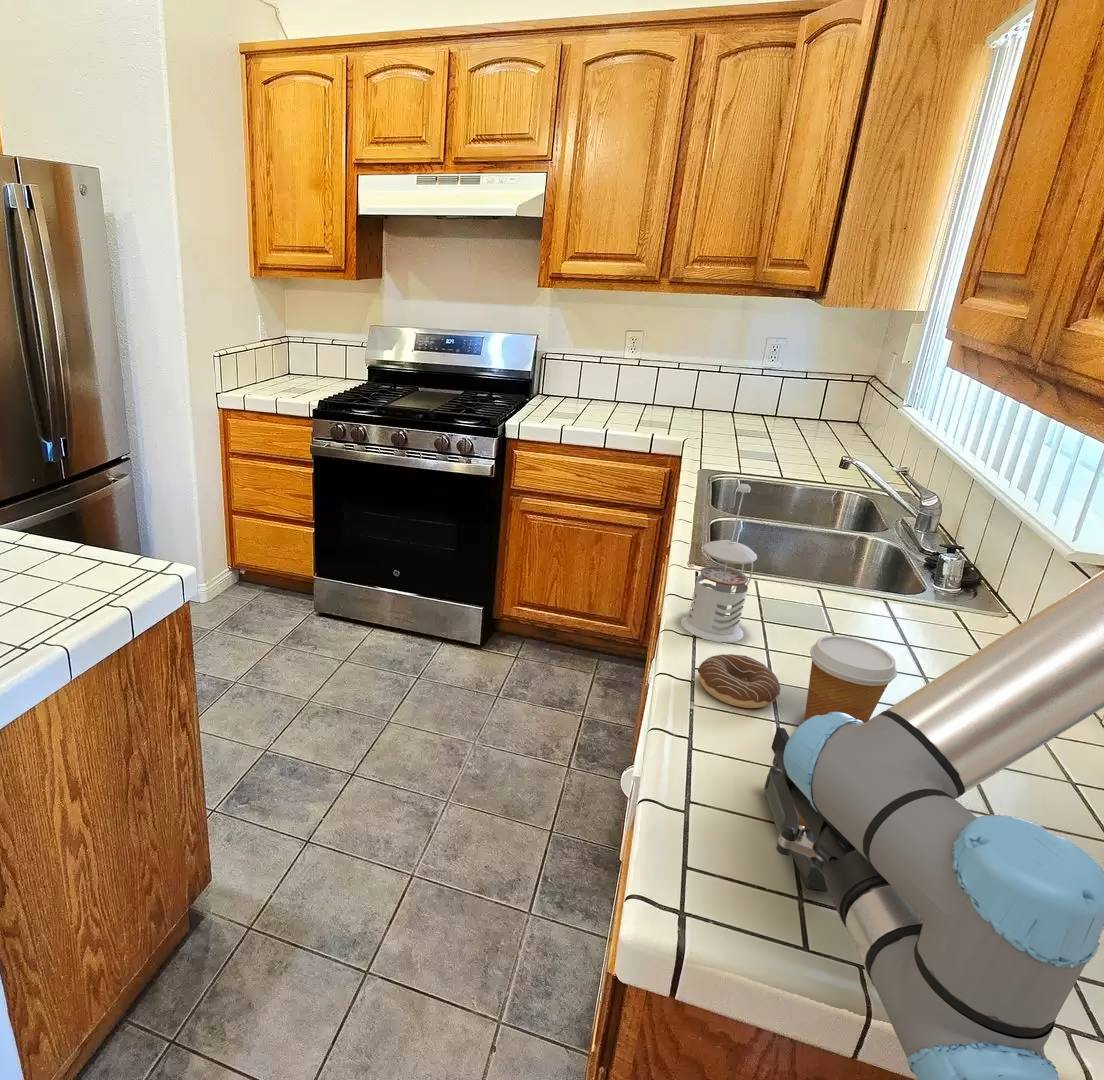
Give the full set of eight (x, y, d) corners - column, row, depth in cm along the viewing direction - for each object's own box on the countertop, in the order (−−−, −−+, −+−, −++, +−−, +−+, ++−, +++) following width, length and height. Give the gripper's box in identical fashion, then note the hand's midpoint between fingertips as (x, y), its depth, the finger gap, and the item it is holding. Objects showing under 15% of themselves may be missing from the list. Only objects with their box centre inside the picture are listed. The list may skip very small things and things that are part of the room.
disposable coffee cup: (773, 717, 101) (795, 638, 97) (826, 706, 104) (849, 629, 100) (834, 761, 93) (861, 677, 88) (889, 747, 96) (918, 665, 92)
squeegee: (787, 796, 86) (816, 699, 81) (833, 892, 73) (871, 783, 68) (759, 792, 87) (786, 695, 82) (801, 886, 74) (836, 778, 69)
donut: (740, 668, 113) (746, 645, 111) (794, 708, 103) (801, 683, 102) (679, 676, 110) (685, 652, 109) (728, 717, 101) (735, 692, 99)
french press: (668, 622, 126) (697, 479, 117) (710, 607, 132) (741, 470, 123) (720, 647, 119) (756, 497, 109) (762, 631, 125) (800, 487, 116)
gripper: (776, 932, 63) (711, 758, 84) (988, 968, 60) (865, 779, 82) (799, 863, 60) (725, 701, 82) (1021, 897, 58) (885, 721, 79)
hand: (796, 740), depth 82 cm, fingers closed on squeegee, 3 cm apart
